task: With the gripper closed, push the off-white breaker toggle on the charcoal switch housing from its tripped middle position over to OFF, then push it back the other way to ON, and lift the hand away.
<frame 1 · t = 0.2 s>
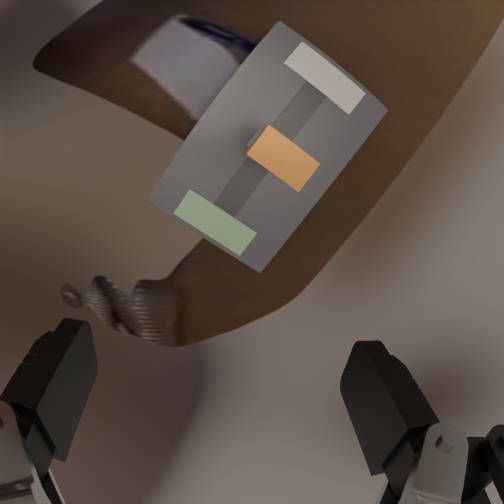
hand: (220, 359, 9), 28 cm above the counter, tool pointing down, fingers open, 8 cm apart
breaker housing: (264, 144, 34), on the counter
breaker toggle: (276, 153, 25), point 9 cm above the counter, slide at 0.0 cm
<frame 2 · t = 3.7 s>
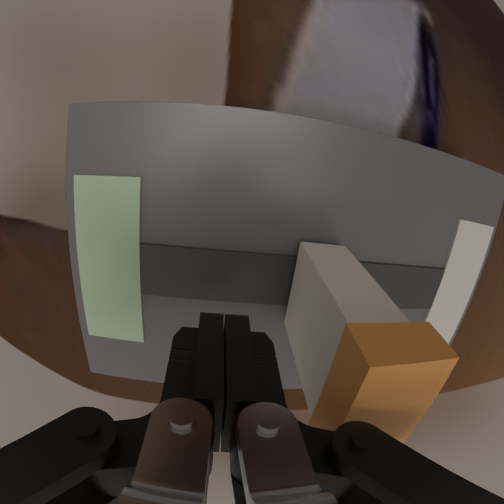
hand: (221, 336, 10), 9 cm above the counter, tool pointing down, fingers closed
breaker housing: (289, 241, 19), on the counter
breaker toggle: (341, 340, 10), point 9 cm above the counter, slide at -0.1 cm, touching gripper
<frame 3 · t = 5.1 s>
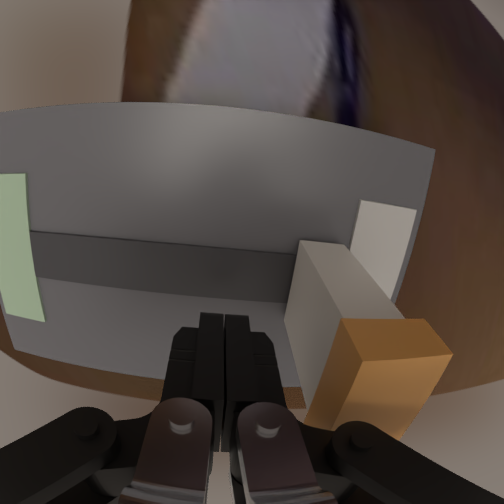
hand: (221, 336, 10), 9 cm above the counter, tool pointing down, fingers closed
breaker housing: (189, 231, 18), on the counter
breaker toggle: (338, 336, 11), point 9 cm above the counter, slide at -6.1 cm, touching gripper
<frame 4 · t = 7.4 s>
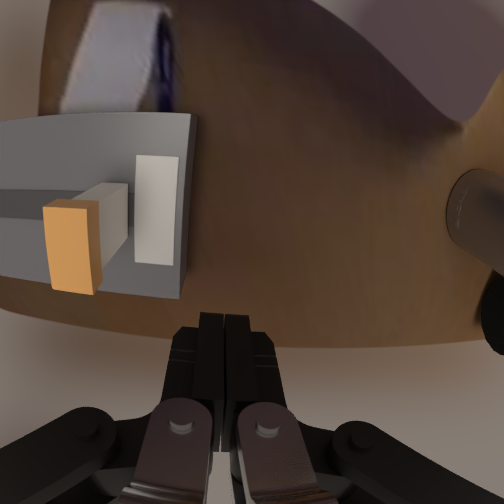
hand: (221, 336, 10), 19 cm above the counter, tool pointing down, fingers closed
breaker housing: (75, 191, 26), on the counter
breaker toggle: (94, 227, 18), point 9 cm above the counter, slide at -6.0 cm
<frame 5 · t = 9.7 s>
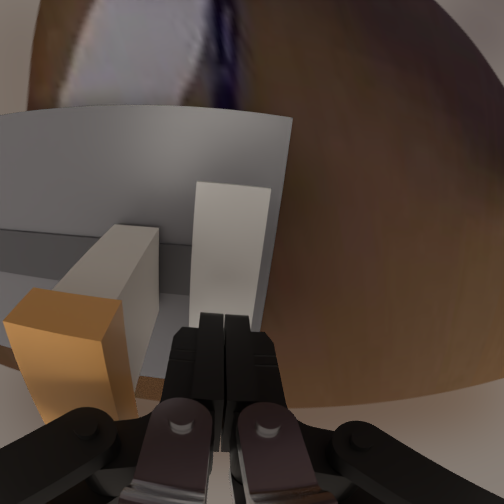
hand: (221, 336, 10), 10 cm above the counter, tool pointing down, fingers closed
breaker housing: (83, 223, 18), on the counter
breaker toggle: (110, 318, 10), point 9 cm above the counter, slide at -5.1 cm, touching gripper
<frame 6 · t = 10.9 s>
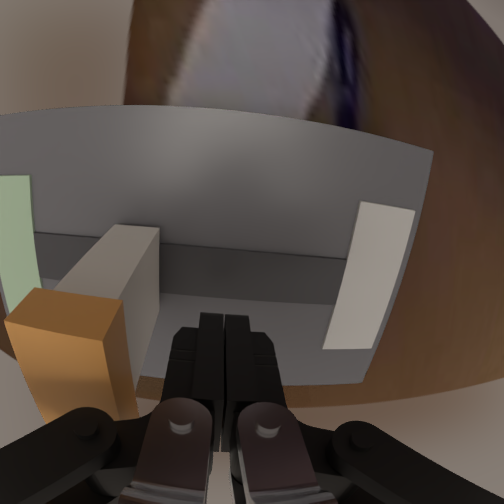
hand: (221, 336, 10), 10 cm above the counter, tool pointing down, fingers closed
breaker housing: (191, 232, 19), on the counter
breaker toggle: (110, 318, 10), point 9 cm above the counter, slide at 1.9 cm, touching gripper
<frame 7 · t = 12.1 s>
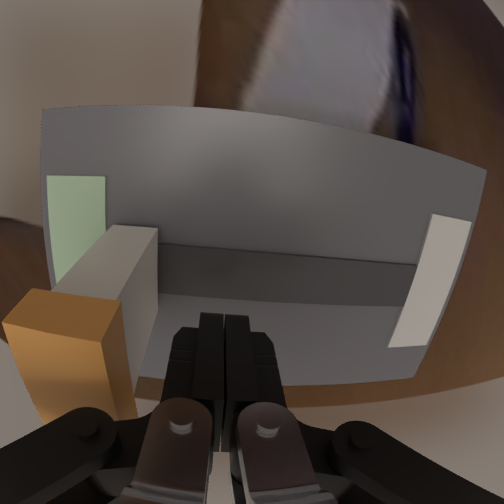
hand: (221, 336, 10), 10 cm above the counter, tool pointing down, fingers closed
breaker housing: (260, 238, 19), on the counter
breaker toggle: (109, 319, 10), point 9 cm above the counter, slide at 6.1 cm, touching gripper
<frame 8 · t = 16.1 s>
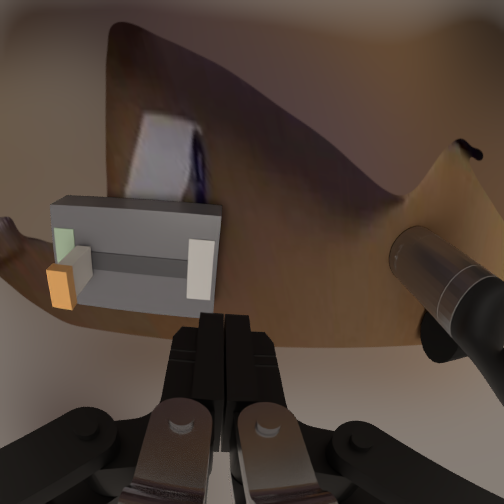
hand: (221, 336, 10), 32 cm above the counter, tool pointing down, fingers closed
black cylinder: (479, 312, 53), on the counter
breaker housing: (138, 248, 42), on the counter
breaker toggle: (72, 274, 33), point 9 cm above the counter, slide at 6.0 cm
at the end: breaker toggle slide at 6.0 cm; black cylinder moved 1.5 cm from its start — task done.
